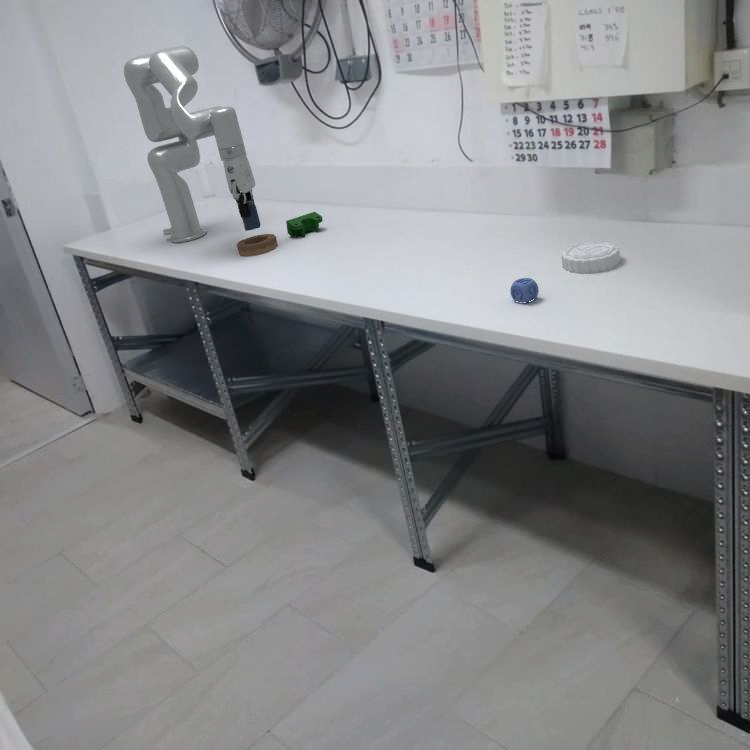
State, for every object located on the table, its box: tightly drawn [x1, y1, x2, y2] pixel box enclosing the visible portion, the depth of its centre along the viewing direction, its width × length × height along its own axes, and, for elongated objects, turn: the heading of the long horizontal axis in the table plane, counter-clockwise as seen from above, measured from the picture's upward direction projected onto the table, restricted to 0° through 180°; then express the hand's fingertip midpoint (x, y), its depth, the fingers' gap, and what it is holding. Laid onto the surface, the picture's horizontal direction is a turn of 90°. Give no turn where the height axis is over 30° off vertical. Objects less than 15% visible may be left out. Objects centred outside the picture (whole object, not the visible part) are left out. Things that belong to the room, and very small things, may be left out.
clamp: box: [285, 211, 323, 238], centre depth 230 cm, size 11×6×8 cm, turn 117°
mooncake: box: [561, 241, 621, 274], centre depth 158 cm, size 12×12×4 cm
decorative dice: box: [510, 277, 540, 302], centre depth 147 cm, size 4×4×4 cm
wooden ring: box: [236, 233, 279, 257], centre depth 224 cm, size 12×12×3 cm
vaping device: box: [237, 191, 261, 232], centre depth 219 cm, size 3×5×12 cm, turn 111°
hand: (248, 214), depth 220 cm, fingers closed on vaping device, 4 cm apart
